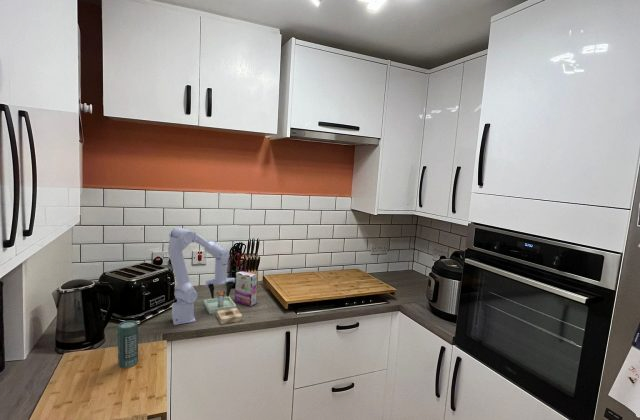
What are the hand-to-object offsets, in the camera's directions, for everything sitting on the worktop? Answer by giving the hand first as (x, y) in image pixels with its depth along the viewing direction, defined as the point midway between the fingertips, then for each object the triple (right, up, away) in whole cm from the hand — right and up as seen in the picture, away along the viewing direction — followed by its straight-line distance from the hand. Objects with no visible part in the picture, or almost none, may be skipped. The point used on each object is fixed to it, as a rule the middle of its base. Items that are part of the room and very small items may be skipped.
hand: (220, 297), depth 176 cm
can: (-19, -11, -51) cm, 56 cm away
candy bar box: (+11, -6, +9) cm, 15 cm away
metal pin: (0, -5, 0) cm, 5 cm away
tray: (0, -6, +1) cm, 6 cm away
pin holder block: (+8, -8, -11) cm, 15 cm away
